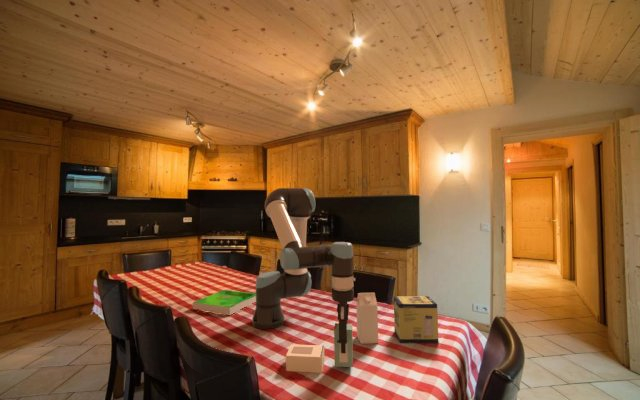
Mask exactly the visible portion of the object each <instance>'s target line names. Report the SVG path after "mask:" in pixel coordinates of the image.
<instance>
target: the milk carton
mask: <svg viewBox="0 0 640 400" xmlns="http://www.w3.org/2000/svg"><path fill="white" fill-rule="evenodd" d="M355 303H356V337H357V339H358V340H359V343H360V344H361V345H364V344H366V345H367V344H378V343H379V323H378V322H379V317H378V316H379V315H378V314H379V313H378V311H379V310H378V302H377V298H376V293H375V292H359V293H357V298H356V302H355Z"/></svg>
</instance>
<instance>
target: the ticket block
mask: <svg viewBox="0 0 640 400" xmlns="http://www.w3.org/2000/svg"><path fill="white" fill-rule="evenodd" d="M324 365H325V345H316V344H315V345H314V344H298V343H297V344H295V343H292V344H290V346H289V347H288V351H287V352H286V355H285V370H286V372H298V373H299V372H301V373H317V374H319V373H320V374H322V373H323V369H324Z"/></svg>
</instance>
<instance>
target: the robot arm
mask: <svg viewBox="0 0 640 400" xmlns="http://www.w3.org/2000/svg"><path fill="white" fill-rule="evenodd" d="M316 206H317V205H316V198H315V195H314V192H313V191H312V190H311V189H309V188H305V187H304V188H302V187H295V188H294V187H280V188H275V189H274V190H272V191H271V192H270V193H269V194H268V195H267V197H266V198H265V201H264V210H265V213H266V216H267V217H268V218H270V220H271V222H272V225H273V227H274V230H275V233H276V235H277V238H278V241H279V244H280V247H281V248H282V249H281V250H280V254H279V261H280V267H281V268H282V269H283V273H281V272H280V271H278V270H275V271H274V270H273V271H268V272H263V273H260V274H259V275H257V277H256V279H255V287H254V288H255V293H256V303H255V309H254V313H253V316H252V319H251V320H252V321H251V322H252V323H251V324H252V326H253V327H254V328H256V329H261V330H270V329H275V328H279V327H281V326H283V324H284V323H285V315H284V311H283V309H282V305H281V302H282V301H281V300H283V299H289V298H290V299H291V298H298V297H299V298H300V297H302V296H306V295H308V294H309V293H310V291H311V288H312V275H311V273H310V271H308V269H310V268H321V267H329V268H331V269H330V270H331V275H330V276H331V277H330V278H331V288H332V289H331V299H332V301H334V302H337V304H336V305H337V306H336V312H337V320H338V323H339V340H337V343H339V362H346V363H348V346H347V324H348V320H349V312H350V304H349V303H350V302H352V301H354V299H355V294H354V293H355V292H354V291H355V289H354V282H355V281H356V277H354V252H353V251H354V250H353V249H354V248H353V244H352V243H351V242H347V241H346V242H345V241H335V242H333V243H331V245H330V244H327V243H326V244H321V245H319V246H318V245H317V246H307V229H308V226H307V225H308V220H309V218H311V214H312V213H313V212H315V209H316Z"/></svg>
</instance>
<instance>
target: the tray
mask: <svg viewBox="0 0 640 400" xmlns="http://www.w3.org/2000/svg"><path fill="white" fill-rule="evenodd" d="M254 302H256V292H255V293H254V292H246V291H236V290H228V289H224V290H220V291H218V292H215V293H212V294H211V295H207V296H206V297H203V298H200V299H197V300H195V301H193V302H192V310H193V309H199V310H204V311H210V312H215V313H221V314H227V315H231V314H233V313H235V312H237V311H239V310H240V309H242V308H244V307H246V306H248V305H250V304H252V303H254ZM254 304H255V303H254ZM252 305H253V304H252ZM239 312H240V311H239ZM237 313H238V312H237ZM235 314H236V313H235ZM233 315H234V314H233Z"/></svg>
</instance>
